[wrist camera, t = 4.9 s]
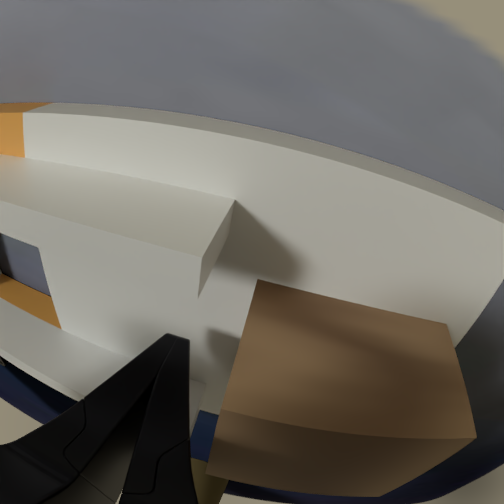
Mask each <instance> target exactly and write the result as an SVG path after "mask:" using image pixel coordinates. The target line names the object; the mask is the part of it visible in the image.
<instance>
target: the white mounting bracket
mask: <svg viewBox="0 0 504 504" xmlns="http://www.w3.org/2000/svg"><path fill="white" fill-rule="evenodd" d="M0 233H2V234H5V235H7V236H10V237H12V238H15V239H17V240H20V241H23V242H25V243H28V244H30V245H33V246H36V247H38V248H39V251H40V255H41V260H42V264H43V268H44V272H45V276H46V279H47V283H48V287H49V290H50V294H51V297H50V296H48V295H46V294H43V293H41V292H39V291H37V290H35V289H33V288H30V287H28V286H26V285H24V284H22V283H20V282H18V281H16V280H14V279H12V278H10V277H8V276H6V275H4V274H2V272H1V269H0V356H1V357H3V358H4V359H6V360H7V361H9V362H10V363H12V364H13V365H15V366H16V367H18V368H20V369H21V370H23V371H24V372H26V373H28V374H29V375H31V376H33V377H34V378H36V379H38V380H39V381H41V382H43V383H45V384H46V385H48V386H50V387H52V388H54V389H55V390H57V391H59V392H61V393H63V394H65V395H67V396H69V397H70V398H72V399H74V400H76V401H80V400H81V399H84V397H85V396H86V395H88V394H89V393H90V392H91V391H93V390H94V389H95V388H97V387H98V386H99V385H100V384H102V383H103V382H104V381H106V380H107V379H108V378H109V377H111V376H112V375H113V374H115V373H116V372H117V371H118V370H120V369H121V368H122V367H124V366H125V365H126V364H127V363H129V362H130V361H131V360H133V359H134V358H135V357H136V356H138V355H139V354H140V353H141V352H143V351H144V350H145V349H147V348H148V347H149V346H150V345H152V344H153V343H154V342H155V341H157V340H158V339H159V338H160V337H162V336H163V335H164V334H166V333H170V334H174V335H177V336H180V337H183V338H187V339H189V340H190V382H189V404H190V437H191V434H192V431H193V428H194V425H195V422H196V419H197V416H198V413H199V410H203V411H207V412H210V413H214V414H217V415H219V414H220V409H221V406H222V402H223V399H224V395H225V392H226V388H227V385H228V382H229V378H230V375H231V371H232V368H233V364H234V361H235V357H236V354H237V350H238V347H239V343H240V340H241V336H242V333H243V329H244V325H245V322H246V318H247V315H248V311H249V308H250V304H251V301H252V297H253V293H254V290H255V286H256V283H257V279H260V280H264V281H268V282H272V283H276V284H280V285H284V286H288V287H292V288H296V289H300V290H304V291H308V292H312V293H316V294H320V295H324V296H328V297H332V298H336V299H340V300H344V301H349V302H353V303H357V304H361V305H365V306H370V307H374V308H378V309H382V310H387V311H391V312H395V313H400V314H404V315H409V316H413V317H417V318H422V319H426V320H431V321H435V322H440V323H444V324H447V327H448V330H449V333H450V336H451V339H452V342H453V345H454V348H455V347H456V346H457V345H458V343H459V342H460V341H461V339H462V338H463V337H464V336H465V334H466V333H467V332H468V330H469V329H470V328H471V326H472V325H473V324H474V322H475V321H476V320H477V318H478V317H479V315H480V314H481V313H482V311H483V310H484V308H485V307H486V305H487V304H488V302H489V301H490V299H491V298H492V296H493V295H494V293H495V292H496V290H497V289H498V287H499V286H500V284H501V282H502V281H503V279H504V211H503V210H501V209H499V208H497V207H495V206H493V205H491V204H489V203H487V202H484V201H482V200H480V199H478V198H476V197H473V196H471V195H469V194H467V193H464V192H462V191H460V190H457V189H455V188H453V187H450V186H448V185H445V184H443V183H440V182H438V181H435V180H433V179H430V178H428V177H425V176H423V175H420V174H417V173H415V172H412V171H409V170H406V169H404V168H401V167H398V166H395V165H392V164H389V163H387V162H384V161H381V160H378V159H375V158H372V157H368V156H365V155H362V154H359V153H356V152H353V151H349V150H346V149H343V148H339V147H336V146H332V145H329V144H325V143H322V142H318V141H314V140H310V139H307V138H303V137H299V136H295V135H291V134H287V133H282V132H278V131H274V130H270V129H265V128H261V127H256V126H251V125H246V124H241V123H236V122H231V121H226V120H220V119H215V118H209V117H203V116H197V115H190V114H184V113H177V112H169V111H161V110H153V109H144V108H135V107H124V106H112V105H98V104H79V103H3V104H0Z"/></svg>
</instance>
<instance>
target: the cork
mask: <svg viewBox="0 0 504 504" xmlns="http://www.w3.org/2000/svg"><path fill="white" fill-rule="evenodd" d="M207 464H208V463H207V462H204V461H201V460H197V459H194V458H191V466H192V473H193V480H194V485H195V490H196V495H197V499H198V503H199V504H219V502H220V500H221V497H222V495H223V493H224V490H225V488H226V486H227V483H228V481H229V480H228V479H224V478H220V477H216V476H212V475H208V474H205V473H206V468H207Z"/></svg>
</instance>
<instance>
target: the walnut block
mask: <svg viewBox="0 0 504 504" xmlns="http://www.w3.org/2000/svg"><path fill="white" fill-rule="evenodd" d="M476 438H477V436H476V430H475V425H474V421H473V416H472V411H471V407H470V403H469V399H468V395H467V391H466V387H465V383H464V379H463V376H462V372H461V369H460V365H459V362H458V358H457V355H456V352H455V349H454V345H453V342H452V339H451V336H450V333H449V330H448V327H447V324H444V323H440V322H435V321H431V320H426V319H422V318H417V317H413V316H409V315H404V314H400V313H395V312H391V311H387V310H382V309H378V308H374V307H370V306H365V305H361V304H357V303H353V302H349V301H344V300H340V299H336V298H332V297H328V296H324V295H320V294H316V293H312V292H308V291H304V290H300V289H296V288H292V287H288V286H284V285H280V284H276V283H272V282H268V281H264V280H260V279H257V283H256V286H255V290H254V293H253V297H252V301H251V304H250V308H249V311H248V315H247V318H246V322H245V325H244V329H243V333H242V336H241V340H240V343H239V347H238V350H237V354H236V357H235V361H234V364H233V368H232V371H231V375H230V378H229V382H228V385H227V388H226V392H225V395H224V399H223V402H222V406H221V409H220V414H219V418H218V422H217V426H216V430H215V435H214V439H213V443H212V447H211V452H210V456H209V460H208V464H207V468H206V473H205V474H208V475H212V476H216V477H220V478H224V479H228V480H232V481H237V482H242V483H246V484H251V485H257V486H262V487H268V488H274V489H280V490H287V491H294V492H303V493H312V494H323V495H336V496H360V497H379V496H381V495H384V494H386V493H388V492H390V491H392V490H394V489H396V488H398V487H399V486H401V485H403V484H405V483H407V482H409V481H411V480H412V479H414V478H416V477H418V476H419V475H421V474H423V473H425V472H426V471H428V470H430V469H431V468H433V467H435V466H436V465H438V464H439V463H441V462H443V461H444V460H446V459H447V458H449V457H450V456H452V455H453V454H455V453H456V452H458V451H459V450H461V449H462V448H463V447H465V446H466V445H468V444H469V443H470V442H472V441H473V440H474V439H476Z"/></svg>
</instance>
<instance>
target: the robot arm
mask: <svg viewBox="0 0 504 504" xmlns="http://www.w3.org/2000/svg"><path fill="white" fill-rule="evenodd" d="M0 364H1V365H3V366H6V364H7V361H6V360H5V359H4V358H3V357H1V356H0ZM189 382H190V340H189V339H187V338H183V337H180V336H177V335H174V334H170V333H166V334H164V335H163V336H162V337H160V338H159V339H158V340H157V341H155V342H154V343H153V344H152V345H150V346H149V347H148V348H147V349H145V350H144V351H143V352H141V353H140V354H139V355H138V356H136V357H135V358H134V359H133V360H131V361H130V362H129V363H127V364H126V365H125V366H124V367H122V368H121V369H120V370H118V371H117V372H116V373H115V374H113V375H112V376H111V377H109V378H108V379H107V380H106V381H104V382H103V383H102V384H100V385H99V386H98V387H97V388H95V389H94V390H93V391H91V392H90V393H89V394H88V395H86V396H85V397H84V399H81V400H80V401H78V402H77V403H76V404H75V405H73V406H72V407H71V408H69V409H68V410H66V411H65V412H64V413H62V414H61V415H59V416H57V417H56V418H54V419H53V420H51V421H49V422H48V423H46V424H44V425H43V426H41V427H39V428H37V429H36V430H34V431H32V432H30V433H28V434H27V435H25V436H24V437H21V438H19V439H18V440H16V441H13V442H10V443H7V444H4V445H0V504H115V503H116V502H117V499H118V497H119V495H120V493H121V491H122V493H123V494H121V497H120V501H119V504H199V503H198V499H197V495H196V490H195V485H194V480H193V473H192V466H191V453H190V404H189ZM122 489H123V490H122Z"/></svg>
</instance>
